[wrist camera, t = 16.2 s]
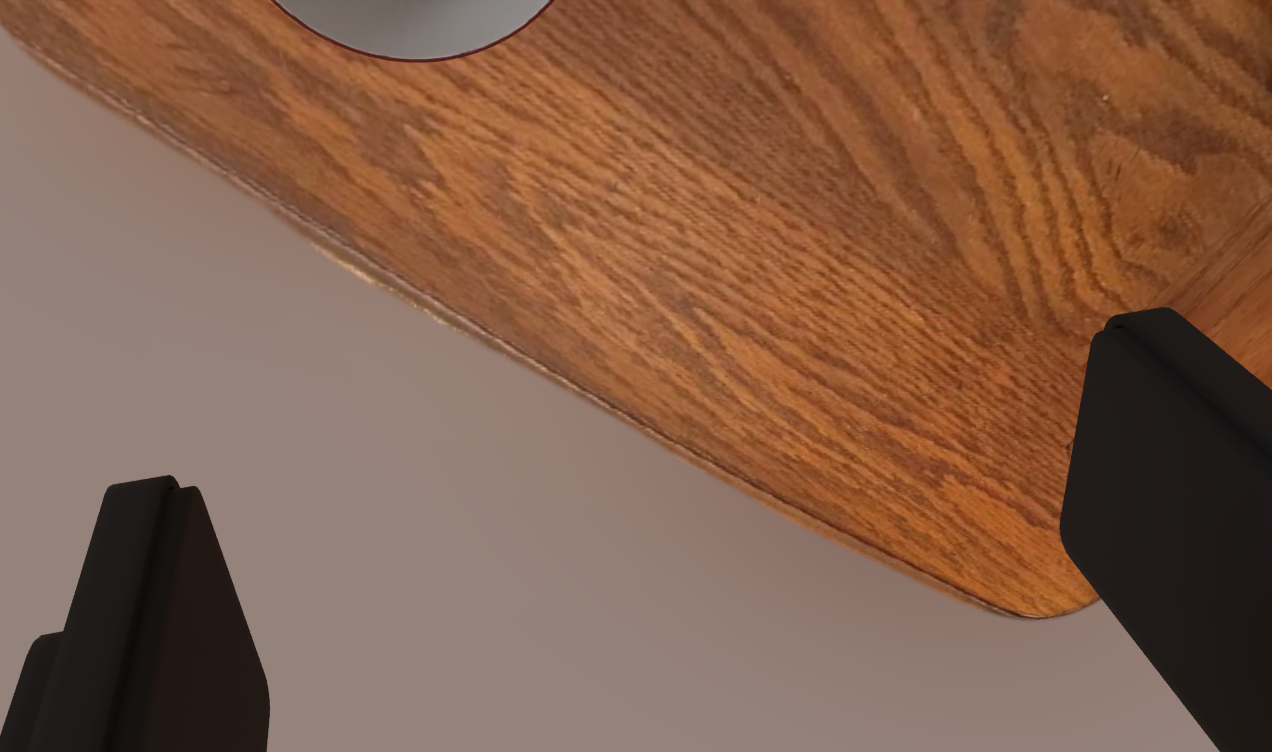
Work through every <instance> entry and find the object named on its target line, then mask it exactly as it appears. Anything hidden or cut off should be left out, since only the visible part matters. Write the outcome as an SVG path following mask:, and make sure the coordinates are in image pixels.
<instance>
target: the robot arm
mask: <svg viewBox="0 0 1272 752" xmlns="http://www.w3.org/2000/svg"><path fill="white" fill-rule="evenodd" d="M1060 535H1061V539H1062V543H1063V546H1064V548H1065V550H1066V552H1067V554H1068V555H1069V557H1070V558H1071V560H1072V561H1073V562H1074V564H1075V565H1076V566H1077V567H1078V569H1079V570H1080V571H1081V573H1082V574H1083V575H1084V576H1085V578H1086V579H1087V580H1088V582H1089V583H1090V584H1091V586H1092V587H1093V588H1094V589H1095V591H1096V592H1097V593H1098V595H1099V596H1100V597H1101V598H1102V600H1103V601H1104V602H1105V604H1106V605H1107V606H1108V607H1109V609H1110V610H1111V611H1112V613H1113V614H1114V615H1115V617H1116V618H1117V619H1118V620H1119V622H1120V623H1121V624H1122V626H1123V627H1124V628H1125V629H1126V631H1127V632H1128V633H1129V635H1130V636H1131V637H1132V638H1133V640H1134V641H1135V642H1136V644H1137V645H1138V646H1139V648H1140V649H1141V650H1142V651H1143V653H1144V654H1145V655H1146V657H1147V658H1148V659H1149V660H1150V662H1151V663H1152V664H1153V666H1154V667H1155V668H1156V670H1157V671H1158V672H1159V673H1160V675H1161V676H1162V677H1163V679H1164V680H1165V681H1166V683H1167V684H1168V685H1169V686H1170V688H1171V689H1172V690H1173V692H1174V693H1175V694H1176V695H1177V697H1178V698H1179V699H1180V701H1181V702H1182V703H1183V705H1184V706H1185V707H1186V708H1187V710H1188V711H1189V712H1190V714H1191V715H1192V716H1193V717H1194V719H1195V720H1196V721H1197V723H1198V724H1199V725H1200V726H1201V728H1202V729H1203V730H1204V732H1205V733H1206V734H1207V735H1208V737H1209V738H1210V739H1211V741H1212V742H1213V743H1214V745H1215V746H1216V747H1217V748H1218V750H1219V751H1220V752H1272V390H1271V389H1270V388H1269V387H1267V386H1266V385H1265V384H1264V383H1262V382H1261V381H1260V380H1259V379H1258V378H1256V377H1255V376H1254V375H1253V374H1251V373H1250V372H1249V371H1248V370H1247V369H1245V368H1244V367H1243V366H1242V365H1241V364H1239V363H1238V362H1237V361H1236V360H1234V359H1233V358H1232V357H1231V356H1230V355H1228V354H1227V353H1226V352H1225V351H1224V350H1222V349H1221V348H1220V347H1219V346H1217V345H1216V344H1215V343H1214V342H1213V341H1211V340H1210V339H1209V338H1208V337H1206V336H1205V335H1204V334H1203V333H1202V332H1200V331H1199V330H1198V329H1197V328H1196V327H1194V326H1193V325H1192V324H1191V323H1189V322H1188V321H1187V320H1186V319H1185V318H1183V317H1182V316H1181V315H1180V314H1178V313H1177V312H1176V311H1174V310H1172V309H1170V308H1165V307H1160V308H1155V309H1149V310H1143V311H1137V312H1131V313H1125V314H1119V315H1115V316H1113V317H1112V318H1110V319H1109V321H1108V322H1107V323H1106V325H1105V328H1104V331H1100V332H1098V333H1096V334H1095V336H1094V337H1093V339H1092V343H1091V346H1090V352H1089V358H1088V363H1087V369H1086V375H1085V381H1084V386H1083V392H1082V398H1081V403H1080V409H1079V415H1078V421H1077V426H1076V432H1075V438H1074V444H1073V449H1072V455H1071V461H1070V467H1069V472H1068V478H1067V484H1066V489H1065V495H1064V501H1063V507H1062V512H1061V518H1060ZM269 717H270V700H269V692H268V685H267V680H266V677H265V673H264V670H263V668H262V665H261V662H260V659H259V656H258V653H257V651H256V648H255V645H254V642H253V639H252V636H251V633H250V631H249V628H248V625H247V622H246V619H245V616H244V614H243V611H242V608H241V605H240V602H239V599H238V597H237V594H236V591H235V588H234V585H233V582H232V579H231V577H230V574H229V571H228V568H227V565H226V562H225V560H224V557H223V554H222V551H221V548H220V545H219V543H218V539H217V537H216V534H215V531H214V528H213V525H212V523H211V520H210V517H209V514H208V511H207V508H206V505H205V503H204V500H203V497H202V495H201V492H200V491H199V489H198V488H197V487H195V486H190V487H185V488H180V486H179V484H178V482H177V481H176V479H175V478H174V477H173V476H171V475H167V476H161V477H155V478H149V479H143V480H137V481H131V482H126V483H119V484H114V485H111V486H109V487H108V489H107V491H106V493H105V495H104V499H103V502H102V505H101V509H100V512H99V515H98V518H97V522H96V525H95V528H94V531H93V535H92V538H91V541H90V545H89V548H88V551H87V555H86V558H85V561H84V565H83V568H82V571H81V575H80V578H79V581H78V585H77V588H76V591H75V595H74V598H73V601H72V604H71V607H70V611H69V614H68V618H67V621H66V624H65V627H64V631H62V632H57V633H51V634H46V635H41V636H40V637H39V638H38V639H36V640H35V641H34V642H33V644H32V646H31V648H30V650H29V652H28V654H27V657H26V659H25V662H24V665H23V668H22V671H21V675H20V678H19V681H18V684H17V687H16V690H15V693H14V696H13V699H12V702H11V705H10V708H9V711H8V714H7V717H6V720H5V723H4V726H3V729H2V732H1V735H0V752H266V751H267V740H268V728H269Z"/></svg>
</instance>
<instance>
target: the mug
mask: <svg viewBox="0 0 1272 752" xmlns="http://www.w3.org/2000/svg"><path fill="white" fill-rule="evenodd" d="M271 1H272V2H273V3H274V4H275V5H277V6H278V7H279V8H280V9H281V10H282V11H283V12H284V13H285V14H287V15H288V16H289V17H291V18H292V19H293V20H295V21H296V22H297V23H299V24H300V25H301V26H303V27H304V28H306V29H308V30H309V31H311V32H313V33H314V34H316V35H317V36H319V37H321V38H323V39H325V40H327V41H329V42H331V43H333V44H335V45H337V46H340V47H342V48H345V49H347V50H350V51H353V52H356V53H359V54H363V55H366V56H369V57H373V58H379V59H384V60H389V61H398V62H436V61H445V60H450V59H456V58H461V57H464V56H468V55H471V54H474V53H478V52H480V51H483V50H485V49H488V48H490V47H493V46H495V45H497V44H499V43H501V42H503V41H504V40H506V39H508V38H510V37H512V36H513V35H515V34H516V33H518V32H519V31H521V30H522V29H524V28H525V27H526V26H528V25H529V24H530V23H531V22H533V21H534V20H535V19H536V18H538V17H539V16H540V15H541V14H542V13H543V12H544V11H545V10H546V9H547V8H548V7H549V6H550V5H551V4H552V3H553V1H554V0H271Z"/></svg>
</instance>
